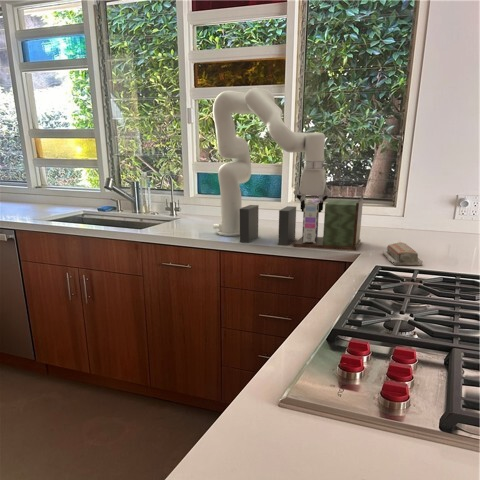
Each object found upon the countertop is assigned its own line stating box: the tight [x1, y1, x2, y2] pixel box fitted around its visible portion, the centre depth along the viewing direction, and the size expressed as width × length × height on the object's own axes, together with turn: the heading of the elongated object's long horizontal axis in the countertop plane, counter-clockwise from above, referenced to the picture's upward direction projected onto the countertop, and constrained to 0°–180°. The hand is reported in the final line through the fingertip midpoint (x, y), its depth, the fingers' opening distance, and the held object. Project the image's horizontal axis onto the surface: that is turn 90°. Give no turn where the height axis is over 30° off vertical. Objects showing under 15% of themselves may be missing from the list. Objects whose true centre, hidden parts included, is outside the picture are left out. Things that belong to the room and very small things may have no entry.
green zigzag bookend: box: [293, 197, 364, 251], centre depth 190 cm, size 25×17×18 cm
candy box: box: [301, 198, 320, 243], centre depth 192 cm, size 14×6×16 cm, turn 168°
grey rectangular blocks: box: [239, 204, 297, 246], centre depth 198 cm, size 21×14×14 cm, turn 71°
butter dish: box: [381, 242, 423, 266], centre depth 166 cm, size 18×5×10 cm
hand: (311, 211), depth 191 cm, fingers closed on candy box, 6 cm apart
